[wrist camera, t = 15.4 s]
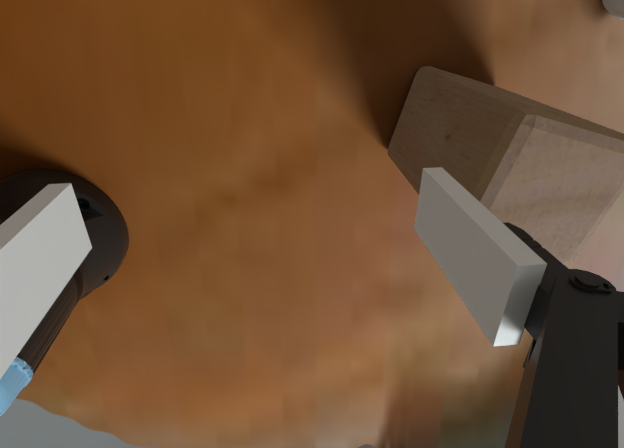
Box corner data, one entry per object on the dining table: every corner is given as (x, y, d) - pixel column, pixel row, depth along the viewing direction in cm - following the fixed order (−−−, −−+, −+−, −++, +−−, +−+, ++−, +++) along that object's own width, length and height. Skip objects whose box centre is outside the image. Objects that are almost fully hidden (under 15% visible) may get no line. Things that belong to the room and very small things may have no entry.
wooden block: (416, 61, 40) (527, 107, 23) (501, 87, 42) (662, 147, 25) (382, 153, 45) (453, 249, 27) (460, 172, 47) (572, 273, 29)
